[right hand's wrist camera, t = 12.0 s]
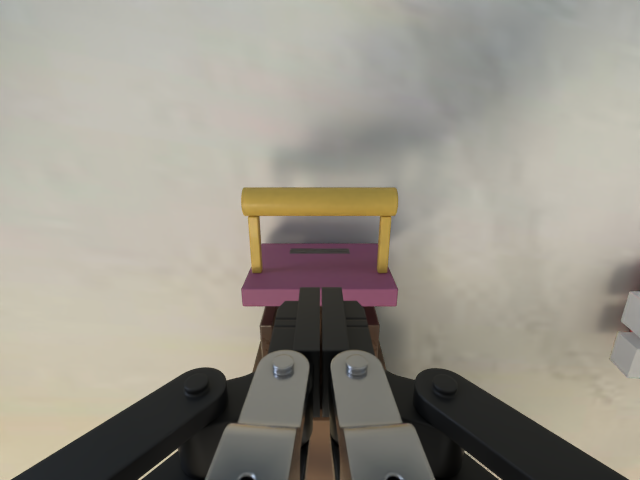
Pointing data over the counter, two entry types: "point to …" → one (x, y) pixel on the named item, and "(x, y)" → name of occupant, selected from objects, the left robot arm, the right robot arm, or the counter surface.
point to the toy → (629, 339)
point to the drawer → (319, 254)
